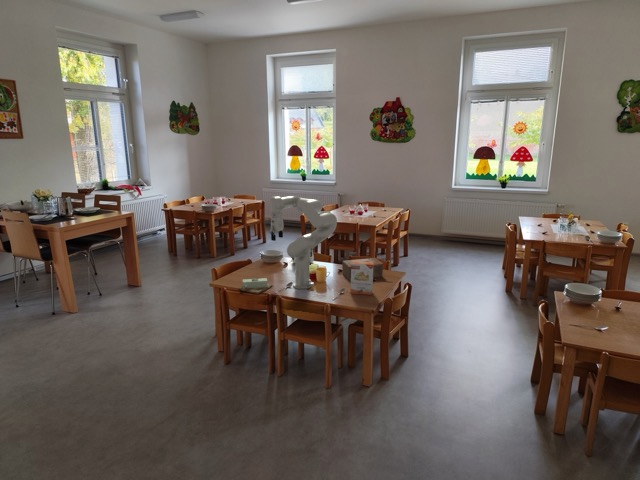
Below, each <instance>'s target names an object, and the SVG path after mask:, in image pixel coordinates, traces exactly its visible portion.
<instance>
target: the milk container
mask: <svg viewBox="0 0 640 480" xmlns="http://www.w3.org/2000/svg"><path fill="white" fill-rule="evenodd" d="M295 240H296V239H294V240H293V241H295ZM313 249H314V248H311V252H310V263H309V265H311V264H313V262H314V260H315V259H314V258H315V256H314V252H313ZM295 260H296V258H292V257H291V261H292V263H293V264H295Z"/></svg>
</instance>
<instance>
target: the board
mask: <svg viewBox="0 0 640 480" xmlns="http://www.w3.org/2000/svg"><path fill="white" fill-rule="evenodd" d="M253 281H257V280H253ZM272 287H273V284H271V283H267V287H261V288H247V289H243V285H242V286H240V287H238V291H243V292H246V293H251V294H256V295H259V294H261V293H264V292H265V291H267V290H269V289H271V288H272Z"/></svg>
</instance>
